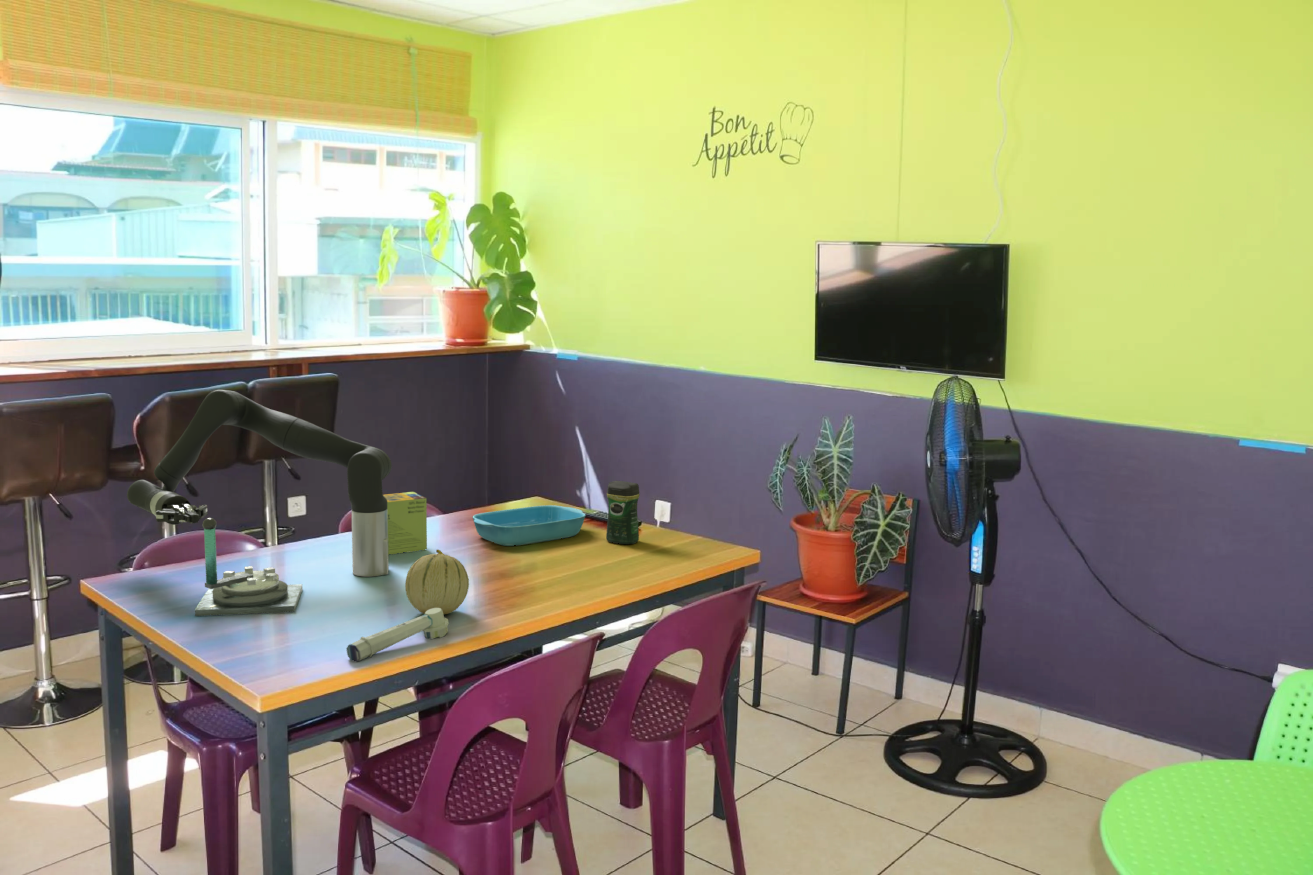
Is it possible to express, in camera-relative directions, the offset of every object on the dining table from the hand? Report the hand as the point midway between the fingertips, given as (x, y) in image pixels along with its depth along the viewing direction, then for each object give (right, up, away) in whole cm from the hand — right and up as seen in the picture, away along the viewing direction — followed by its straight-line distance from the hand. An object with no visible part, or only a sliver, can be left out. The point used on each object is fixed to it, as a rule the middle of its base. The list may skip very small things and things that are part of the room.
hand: (194, 519), depth 264 cm
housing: (+14, -20, -2) cm, 25 cm away
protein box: (+37, -13, +50) cm, 64 cm away
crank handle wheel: (+13, -17, -4) cm, 22 cm away
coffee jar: (+102, -12, +66) cm, 122 cm away
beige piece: (+57, -26, -29) cm, 69 cm away
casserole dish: (+73, -11, +70) cm, 102 cm away
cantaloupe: (+61, -22, -7) cm, 65 cm away
